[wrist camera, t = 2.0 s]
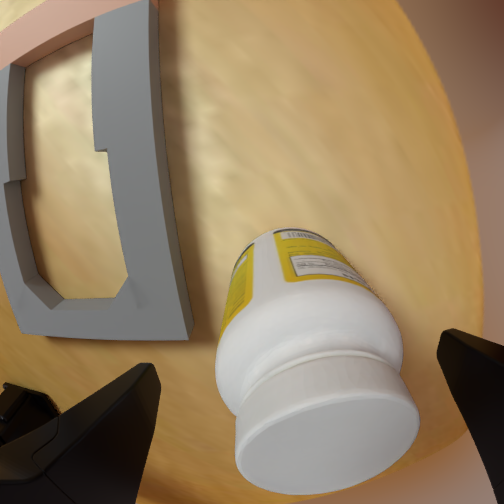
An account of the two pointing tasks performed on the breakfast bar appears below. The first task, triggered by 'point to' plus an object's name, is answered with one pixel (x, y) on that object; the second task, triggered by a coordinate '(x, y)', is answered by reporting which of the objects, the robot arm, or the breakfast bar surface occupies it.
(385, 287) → the breakfast bar surface
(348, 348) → the supplement bottle
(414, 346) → the breakfast bar surface
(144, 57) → the keyhole board
